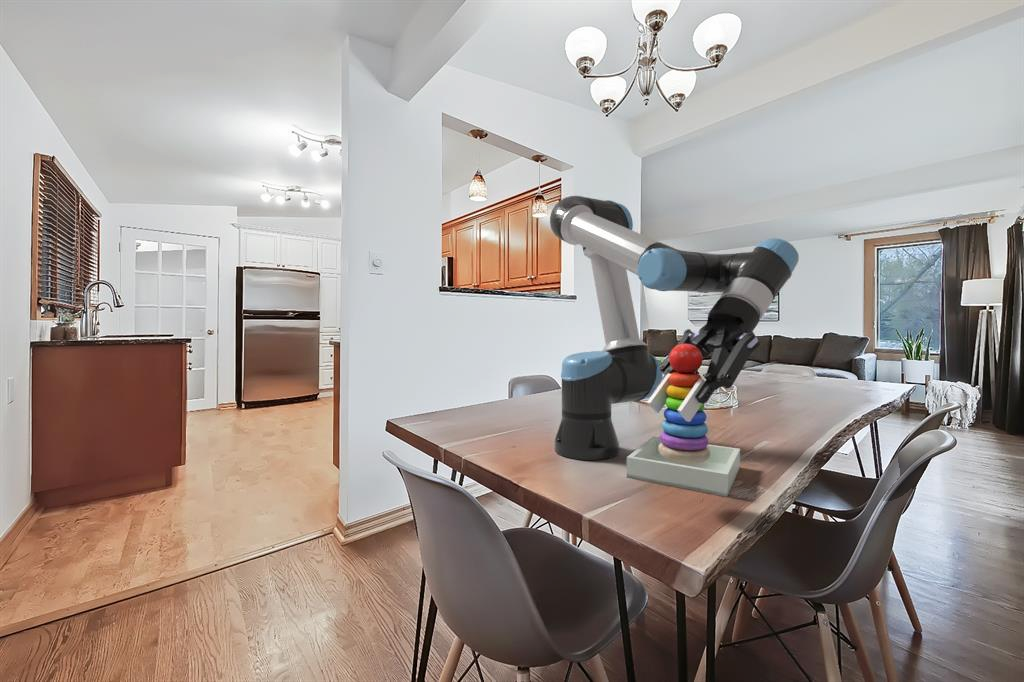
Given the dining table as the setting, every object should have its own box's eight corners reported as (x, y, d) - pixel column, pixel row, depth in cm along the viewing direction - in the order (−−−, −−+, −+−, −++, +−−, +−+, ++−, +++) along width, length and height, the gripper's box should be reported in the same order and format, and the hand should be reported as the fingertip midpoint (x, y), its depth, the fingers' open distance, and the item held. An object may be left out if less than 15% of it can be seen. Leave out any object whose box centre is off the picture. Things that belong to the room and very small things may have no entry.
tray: (626, 477, 86) (626, 457, 85) (652, 453, 101) (652, 436, 100) (727, 497, 76) (727, 474, 75) (739, 467, 90) (740, 448, 90)
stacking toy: (721, 462, 69) (724, 345, 68) (678, 467, 67) (681, 346, 65) (687, 447, 77) (690, 341, 75) (648, 451, 74) (650, 342, 73)
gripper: (803, 326, 69) (730, 441, 62) (704, 323, 86) (638, 414, 79) (783, 291, 66) (705, 408, 60) (685, 296, 83) (616, 387, 77)
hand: (667, 411), depth 70 cm, fingers closed on stacking toy, 6 cm apart
